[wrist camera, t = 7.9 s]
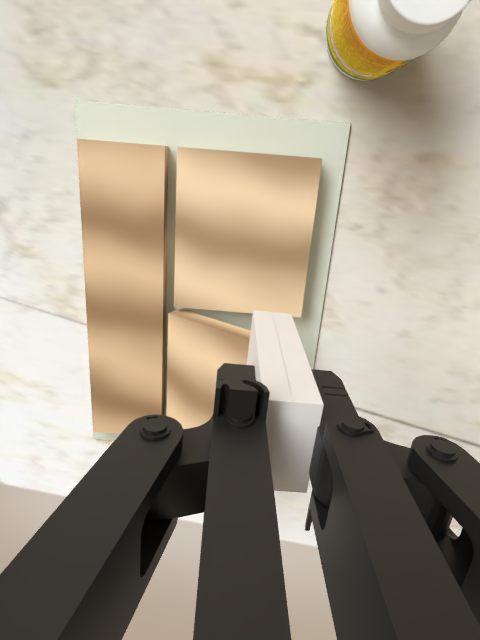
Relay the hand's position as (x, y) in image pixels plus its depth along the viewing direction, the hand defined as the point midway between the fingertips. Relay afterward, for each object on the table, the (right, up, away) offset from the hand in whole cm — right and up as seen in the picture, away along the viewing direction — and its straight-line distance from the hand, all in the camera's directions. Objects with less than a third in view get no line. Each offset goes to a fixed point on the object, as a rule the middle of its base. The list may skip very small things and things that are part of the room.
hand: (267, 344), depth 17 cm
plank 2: (-2, -4, +14) cm, 15 cm away
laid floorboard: (-9, +2, +15) cm, 18 cm away
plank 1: (-1, +7, +13) cm, 14 cm away
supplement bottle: (+7, +18, +9) cm, 21 cm away
